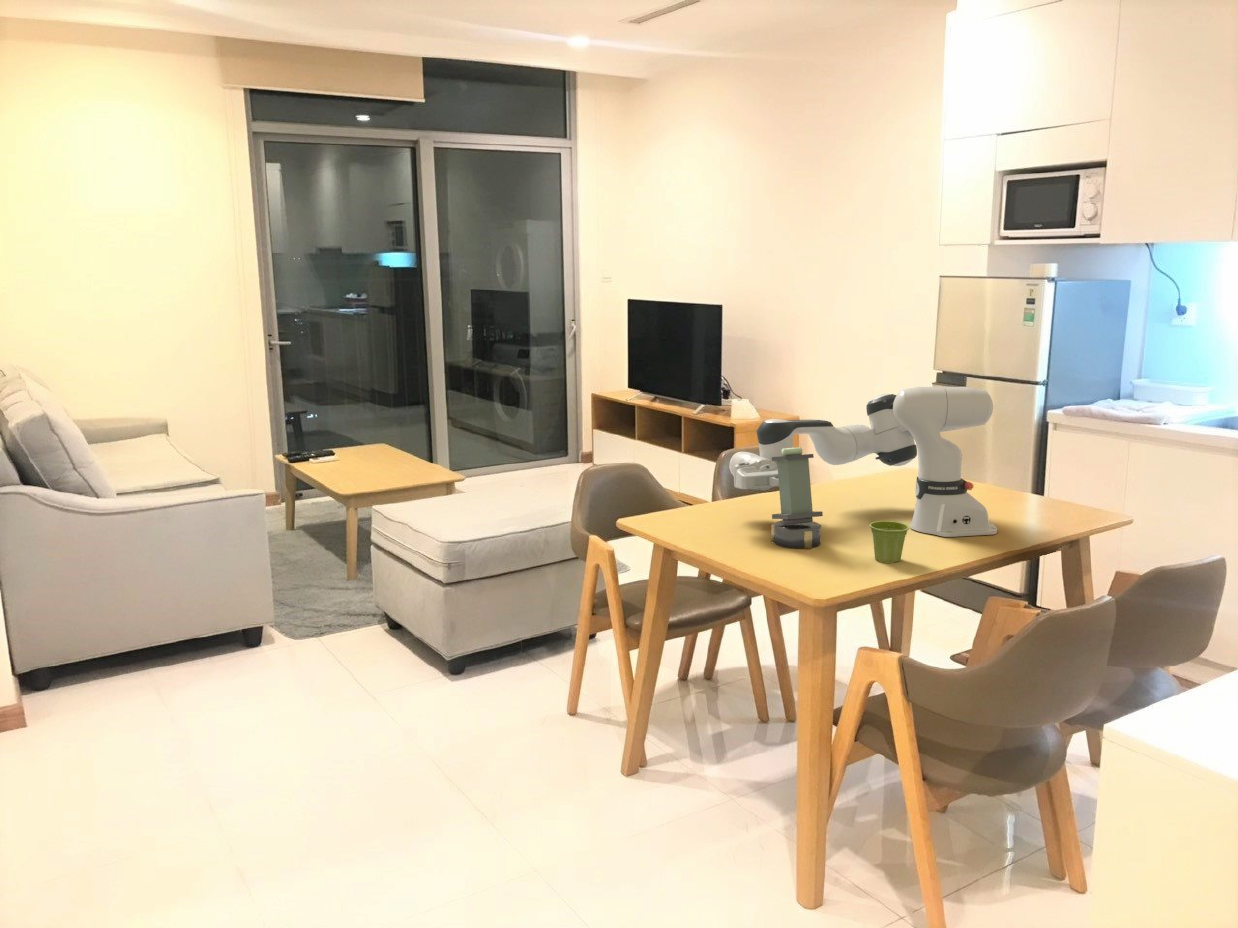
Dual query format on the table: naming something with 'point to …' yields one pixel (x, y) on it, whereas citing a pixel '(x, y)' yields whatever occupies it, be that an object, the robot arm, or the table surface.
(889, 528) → the plant pot
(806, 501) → the green square column
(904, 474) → the table surface
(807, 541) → the base
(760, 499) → the table surface
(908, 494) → the table surface
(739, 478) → the robot arm
